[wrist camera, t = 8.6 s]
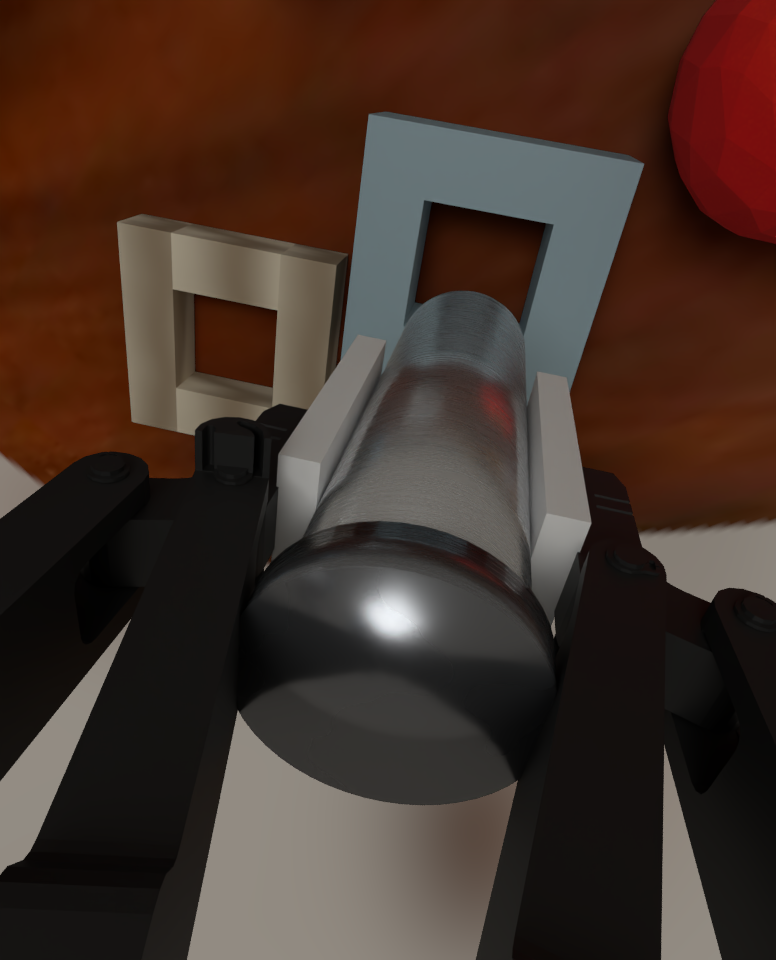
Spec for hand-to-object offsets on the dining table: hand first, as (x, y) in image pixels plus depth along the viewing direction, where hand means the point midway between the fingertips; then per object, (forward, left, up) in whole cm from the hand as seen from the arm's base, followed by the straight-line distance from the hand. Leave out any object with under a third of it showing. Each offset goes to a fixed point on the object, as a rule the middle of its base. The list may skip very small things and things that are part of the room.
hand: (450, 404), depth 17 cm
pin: (0, 0, -4) cm, 4 cm away
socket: (0, 0, -17) cm, 17 cm away
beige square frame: (-12, -6, -17) cm, 22 cm away
